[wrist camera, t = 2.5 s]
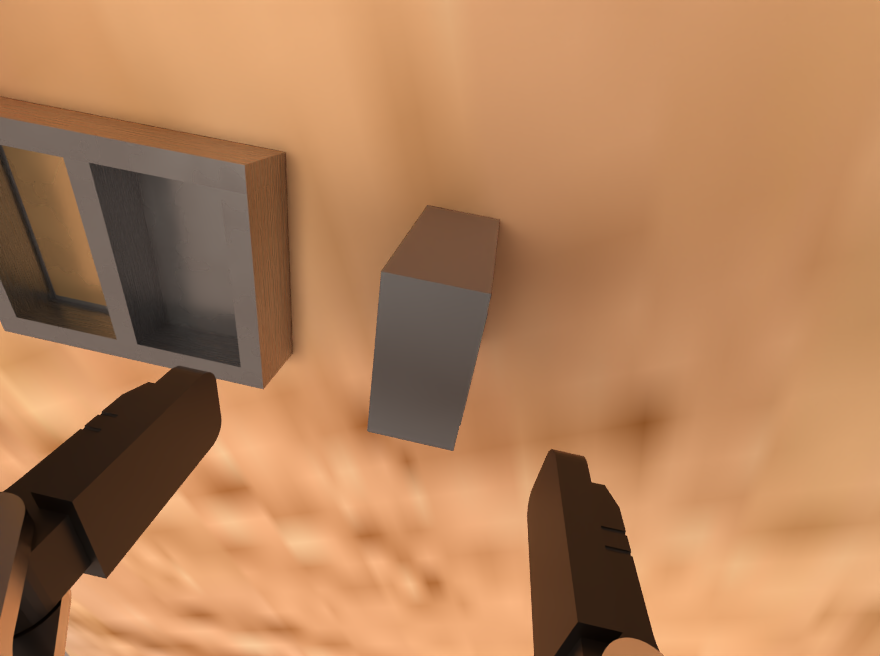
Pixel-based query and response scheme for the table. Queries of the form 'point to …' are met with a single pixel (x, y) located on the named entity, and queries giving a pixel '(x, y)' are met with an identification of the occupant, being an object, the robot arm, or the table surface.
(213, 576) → the table surface
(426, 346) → the rectangular block
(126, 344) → the rack
